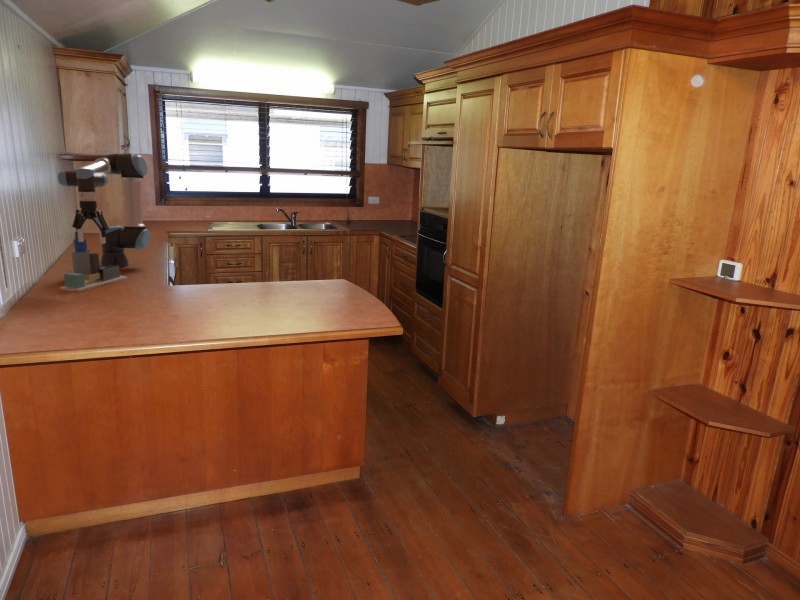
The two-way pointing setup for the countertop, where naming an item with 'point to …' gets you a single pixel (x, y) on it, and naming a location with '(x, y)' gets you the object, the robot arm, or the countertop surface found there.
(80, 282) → the green rectangular block
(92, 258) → the l-shaped block
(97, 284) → the base board
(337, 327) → the countertop surface
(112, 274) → the sleeve
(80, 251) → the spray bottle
